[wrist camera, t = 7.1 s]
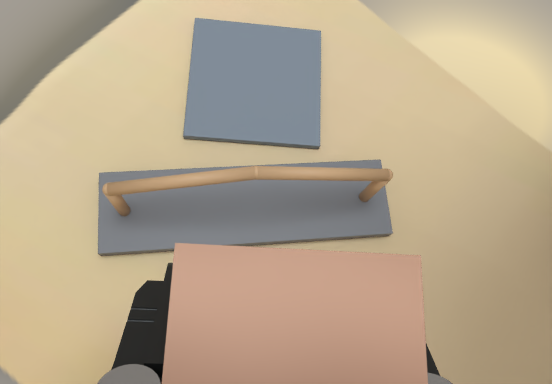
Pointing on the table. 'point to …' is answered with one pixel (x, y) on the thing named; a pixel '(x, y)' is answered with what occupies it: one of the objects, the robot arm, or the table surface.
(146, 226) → the board with wooden handle
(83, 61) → the table surface
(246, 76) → the mat
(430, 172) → the table surface
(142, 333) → the robot arm
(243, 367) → the block
